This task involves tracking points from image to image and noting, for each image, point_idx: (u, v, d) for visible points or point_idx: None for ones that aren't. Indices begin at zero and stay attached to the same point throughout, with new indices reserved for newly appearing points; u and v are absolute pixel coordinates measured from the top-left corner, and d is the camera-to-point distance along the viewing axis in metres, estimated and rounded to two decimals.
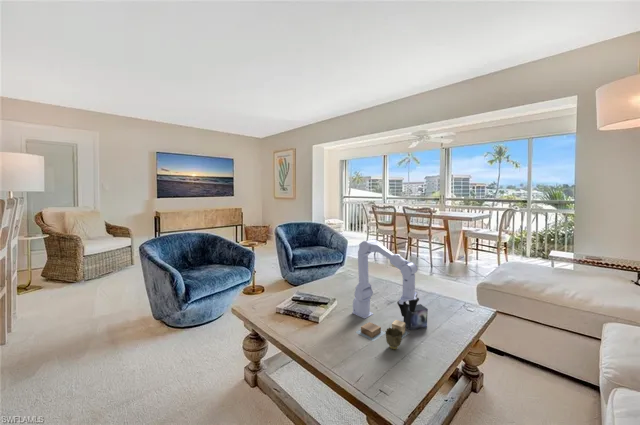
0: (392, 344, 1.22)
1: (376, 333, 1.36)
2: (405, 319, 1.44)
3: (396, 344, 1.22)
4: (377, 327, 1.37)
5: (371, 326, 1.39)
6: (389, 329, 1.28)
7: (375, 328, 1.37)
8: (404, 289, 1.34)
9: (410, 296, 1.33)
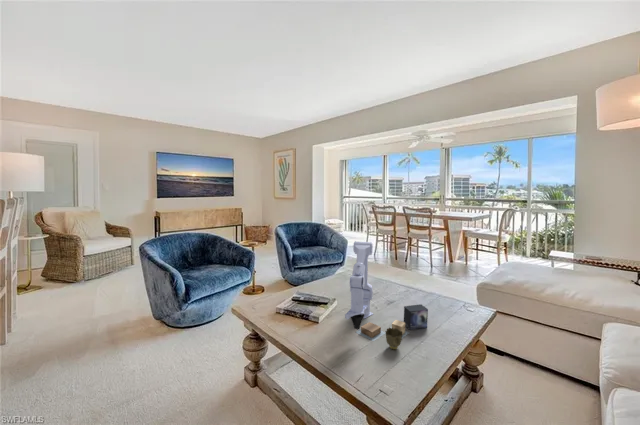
0: (392, 344, 1.22)
1: (376, 333, 1.36)
2: (405, 319, 1.44)
3: (396, 344, 1.22)
4: (377, 327, 1.37)
5: (371, 326, 1.39)
6: (389, 329, 1.28)
7: (375, 328, 1.37)
8: (352, 303, 1.28)
9: (357, 310, 1.27)
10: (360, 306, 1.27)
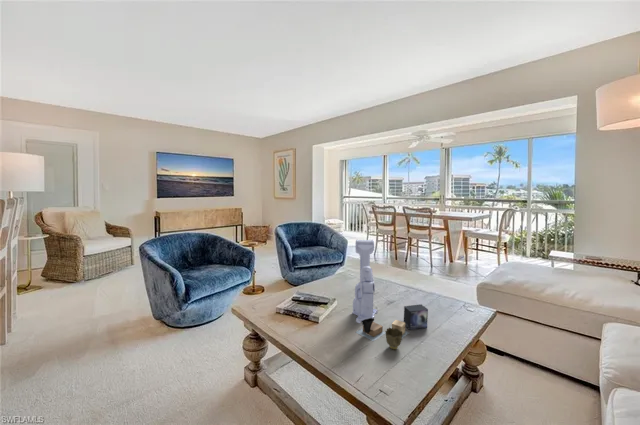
0: (392, 344, 1.22)
1: (378, 332, 1.37)
2: (405, 319, 1.44)
3: (396, 344, 1.22)
4: (379, 326, 1.38)
5: (373, 325, 1.40)
6: (389, 329, 1.28)
7: (377, 327, 1.38)
8: (362, 307, 1.34)
9: (368, 314, 1.32)
10: (370, 310, 1.33)
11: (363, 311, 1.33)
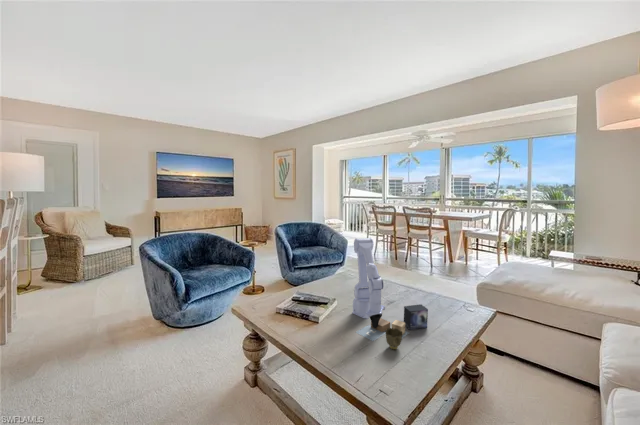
0: (392, 344, 1.22)
1: (386, 328, 1.41)
2: (405, 319, 1.44)
3: (396, 344, 1.22)
4: (387, 322, 1.43)
5: (381, 321, 1.44)
6: (389, 329, 1.28)
7: (385, 323, 1.42)
8: (370, 303, 1.38)
9: (376, 310, 1.37)
10: (378, 306, 1.37)
11: (371, 307, 1.38)
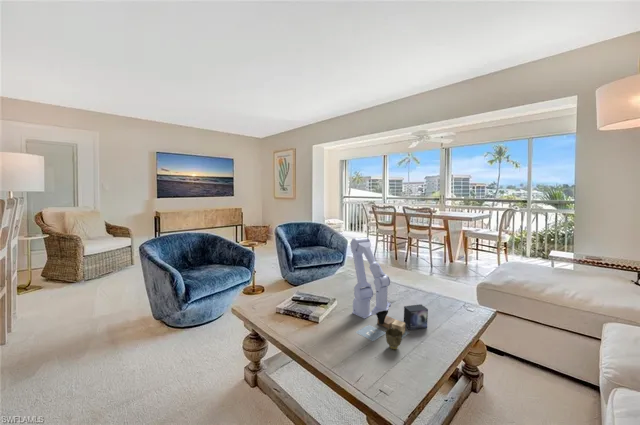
0: (392, 344, 1.22)
1: None
2: (405, 319, 1.44)
3: (396, 344, 1.22)
4: (393, 320, 1.46)
5: (387, 318, 1.48)
6: (389, 329, 1.28)
7: (391, 320, 1.45)
8: (377, 300, 1.42)
9: (382, 307, 1.40)
10: (385, 303, 1.41)
11: (378, 304, 1.41)
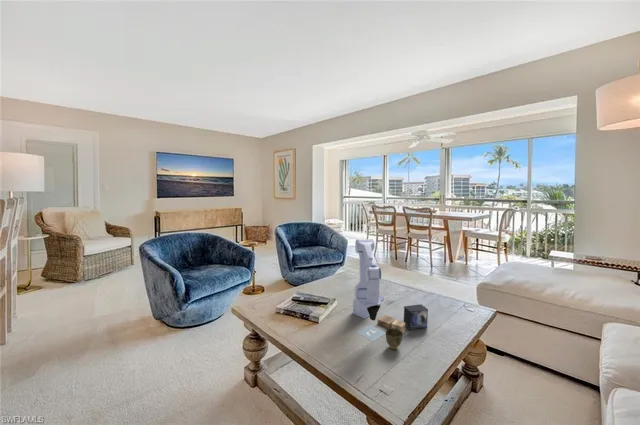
0: (392, 344, 1.22)
1: None
2: (405, 319, 1.44)
3: (396, 344, 1.22)
4: (393, 319, 1.46)
5: (387, 318, 1.48)
6: (389, 329, 1.28)
7: (391, 320, 1.45)
8: (368, 294, 1.29)
9: (374, 301, 1.28)
10: (376, 297, 1.28)
11: (369, 298, 1.29)
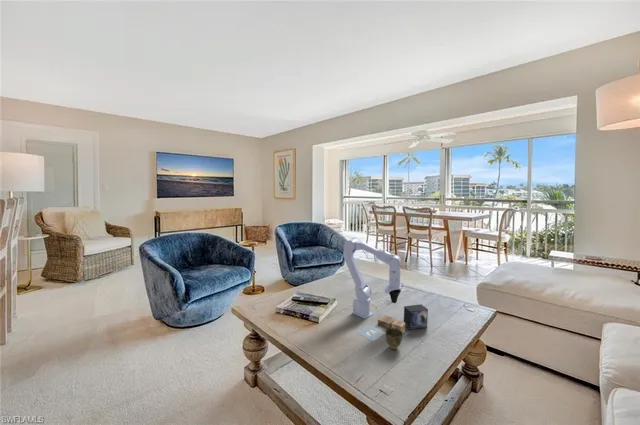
0: (392, 344, 1.22)
1: None
2: (405, 319, 1.44)
3: (396, 344, 1.22)
4: (393, 319, 1.46)
5: (387, 318, 1.48)
6: (389, 329, 1.28)
7: (391, 320, 1.45)
8: (390, 280, 1.47)
9: (395, 286, 1.46)
10: (398, 282, 1.46)
11: (391, 283, 1.47)
